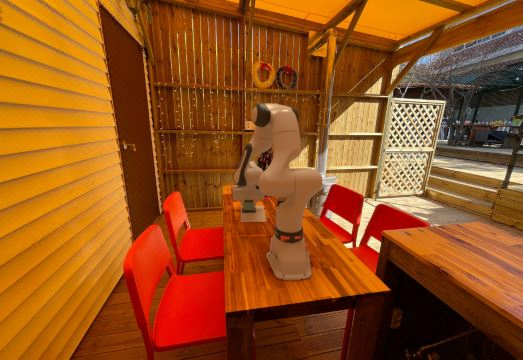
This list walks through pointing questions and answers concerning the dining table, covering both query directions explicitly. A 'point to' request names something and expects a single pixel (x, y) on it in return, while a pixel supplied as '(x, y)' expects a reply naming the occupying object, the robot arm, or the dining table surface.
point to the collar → (248, 205)
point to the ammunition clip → (281, 200)
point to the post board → (253, 214)
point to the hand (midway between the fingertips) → (248, 206)
